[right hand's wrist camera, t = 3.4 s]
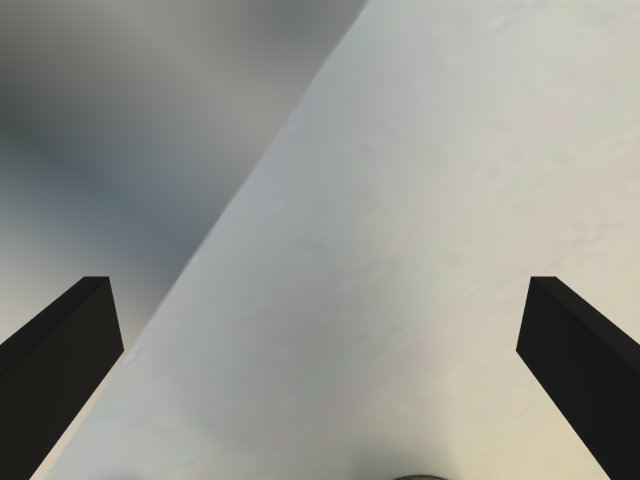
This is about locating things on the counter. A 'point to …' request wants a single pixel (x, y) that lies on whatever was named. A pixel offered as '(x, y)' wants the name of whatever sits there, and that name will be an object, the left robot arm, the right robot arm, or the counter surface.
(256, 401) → the counter surface
